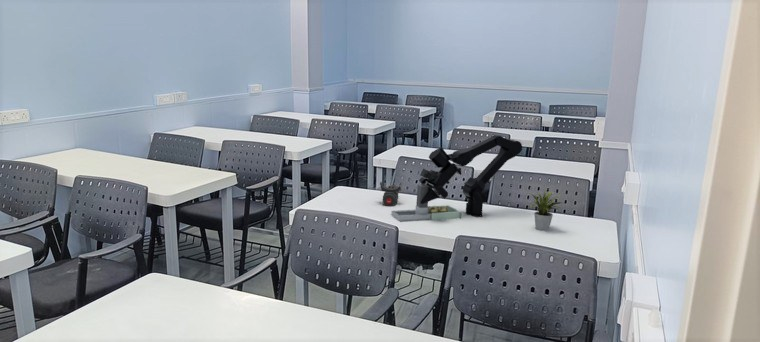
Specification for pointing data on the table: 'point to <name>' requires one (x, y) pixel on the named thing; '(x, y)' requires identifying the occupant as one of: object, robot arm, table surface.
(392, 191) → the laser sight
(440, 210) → the gold ball
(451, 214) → the tray
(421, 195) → the tall gray pillar
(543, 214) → the house plant
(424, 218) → the slot rail
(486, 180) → the robot arm
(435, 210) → the brass sphere
